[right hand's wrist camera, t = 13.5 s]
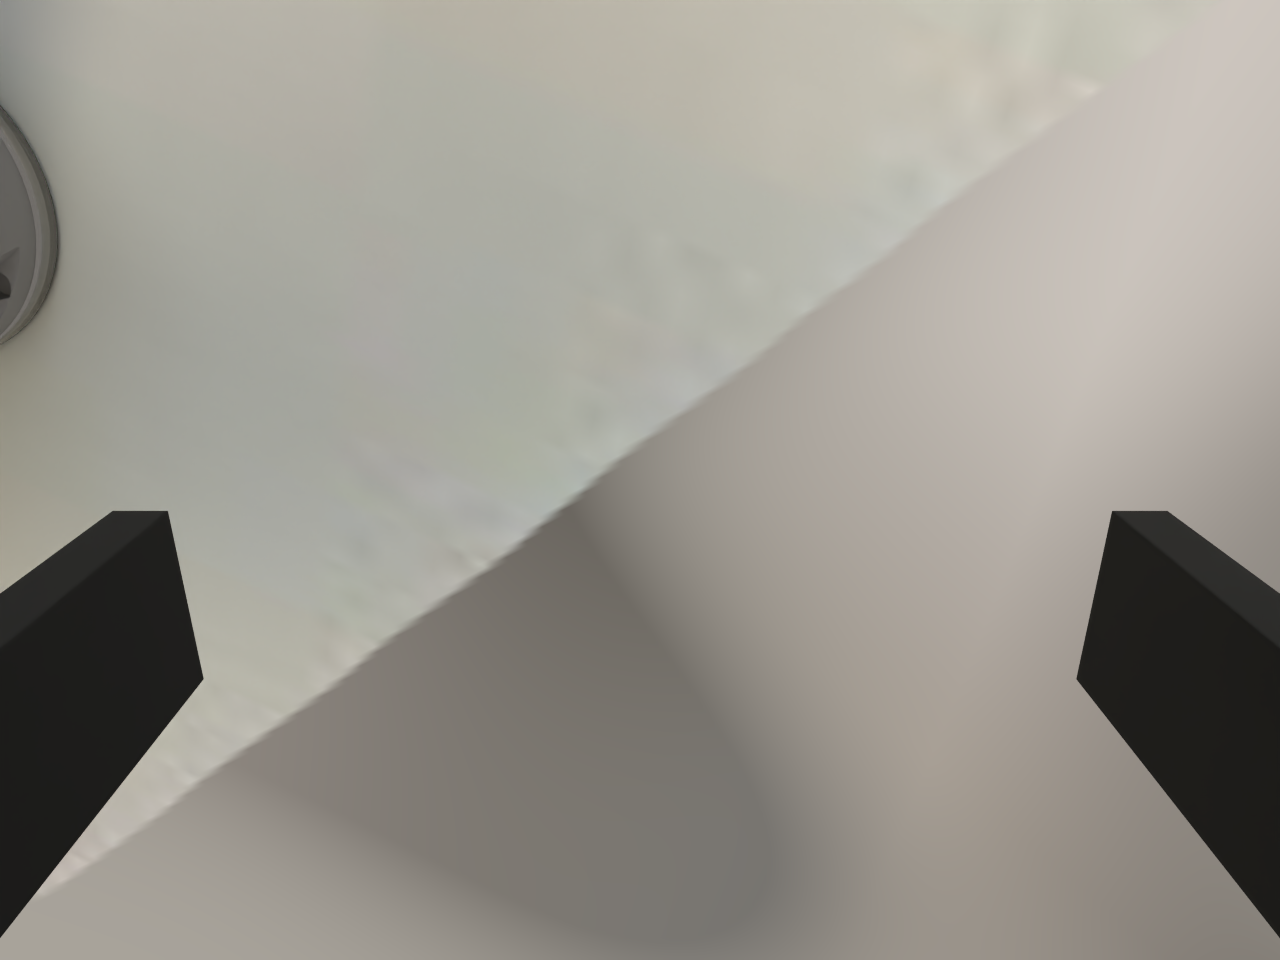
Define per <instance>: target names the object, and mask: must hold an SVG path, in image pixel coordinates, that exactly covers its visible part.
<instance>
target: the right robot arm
mask: <svg viewBox="0 0 1280 960" xmlns="http://www.w3.org/2000/svg"><path fill="white" fill-rule="evenodd" d="M56 256H57V227H56V219H55V212H54V208H53V203H52V199H51V195H50V192H49V189H48V186H47V183H46V180H45V178H44V175H43V173H42V170H41V168H40V165H39V163H38V161H37V159H36V157H35V155H34V154H33V152H32V150H31V148H30V146H29V145H28V143H27V141H26V140H25V138H24V136H23V135H22V133H21V132H20V130H19V129H18V128H17V126H16V125H15V123H14V122H13V121H12V119H11V118H10V117H9V116H8V114H7V113H6V112H5V111H4V110H3V108H2V107H1V106H0V345H1V344H2V343H4V342H6V341H7V340H9V339H10V338H12V337H13V336H14V335H16V334H17V333H18V332H19V331H21V330H22V329H23V328H24V327H25V326H26V325H27V324H28V323H29V322H30V320H31V319H32V318H33V316H34V315H35V314H36V313H37V311H38V310H39V308H40V306H41V304H42V303H43V301H44V299H45V297H46V295H47V292H48V290H49V288H50V284H51V281H52V278H53V275H54V269H55V264H56ZM202 680H203V674H202V669H201V665H200V660H199V655H198V651H197V646H196V641H195V637H194V632H193V627H192V622H191V618H190V613H189V608H188V604H187V599H186V594H185V590H184V585H183V580H182V575H181V571H180V566H179V561H178V557H177V552H176V547H175V543H174V538H173V533H172V528H171V524H170V519H169V514H168V511H112V512H111V513H109V514H108V515H107V516H105V517H104V518H103V519H101V520H100V521H98V522H97V523H96V524H94V525H93V526H92V527H90V528H89V529H88V530H86V531H85V532H83V533H82V534H81V535H79V536H78V537H77V538H75V539H74V540H73V541H71V542H70V543H69V544H67V545H66V546H64V547H63V548H62V549H60V550H59V551H58V552H56V553H55V554H54V555H52V556H51V557H49V558H48V559H47V560H45V561H44V562H43V563H41V564H40V565H39V566H37V567H36V568H35V569H33V570H32V571H30V572H29V573H28V574H26V575H25V576H24V577H22V578H21V579H20V580H18V581H17V582H15V583H14V584H13V585H11V586H10V587H9V588H7V589H6V590H5V591H3V592H2V593H0V937H1V936H2V935H3V934H4V932H5V931H6V930H7V929H8V927H9V926H10V925H11V924H12V922H13V921H14V920H15V918H16V917H17V916H18V914H19V913H20V912H21V911H22V909H23V908H24V907H25V906H26V904H27V903H28V902H29V901H30V899H31V898H32V897H33V896H34V894H35V893H36V892H37V890H38V889H39V888H40V887H41V885H42V884H43V883H44V882H45V880H46V879H47V878H48V876H49V875H50V874H51V873H52V871H53V870H54V869H55V868H56V866H57V865H58V864H59V862H60V861H61V860H62V859H63V857H64V856H65V855H66V854H67V852H68V851H69V850H70V848H71V847H72V846H73V845H74V843H75V842H76V841H77V840H78V838H79V837H80V836H81V834H82V833H83V832H84V831H85V829H86V828H87V827H88V826H89V824H90V823H91V822H92V820H93V819H94V818H95V817H96V815H97V814H98V813H99V811H100V810H101V809H102V808H103V806H104V805H105V804H106V803H107V801H108V800H109V799H110V797H111V796H112V795H113V794H114V792H115V791H116V790H117V789H118V787H119V786H120V785H121V783H122V782H123V781H124V780H125V778H126V777H127V776H128V775H129V773H130V772H131V771H132V769H133V768H134V767H135V766H136V764H137V763H138V762H139V761H140V759H141V758H142V757H143V755H144V754H145V753H146V752H147V750H148V749H149V748H150V747H151V745H152V744H153V743H154V741H155V740H156V739H157V738H158V736H159V735H160V734H161V733H162V731H163V730H164V729H165V727H166V726H167V725H168V724H169V722H170V721H171V720H172V719H173V717H174V716H175V715H176V713H177V712H178V711H179V710H180V708H181V707H182V706H183V705H184V703H185V702H186V701H187V699H188V698H189V697H190V696H191V694H192V693H193V692H194V691H195V689H196V688H197V687H198V685H199V684H200V683H201V682H202ZM1077 680H1078V682H1079V683H1080V684H1081V685H1082V687H1083V688H1084V689H1085V691H1086V692H1087V693H1088V694H1089V696H1090V697H1091V698H1092V699H1093V701H1094V702H1095V703H1096V704H1097V706H1098V707H1099V708H1100V710H1101V711H1102V712H1103V713H1104V715H1105V716H1106V717H1107V719H1108V720H1109V721H1110V722H1111V724H1112V725H1113V726H1114V727H1115V729H1116V730H1117V731H1118V733H1119V734H1120V735H1121V736H1122V738H1123V739H1124V740H1125V741H1126V743H1127V744H1128V745H1129V747H1130V748H1131V749H1132V750H1133V752H1134V753H1135V754H1136V755H1137V757H1138V758H1139V759H1140V761H1141V762H1142V763H1143V764H1144V766H1145V767H1146V768H1147V769H1148V771H1149V772H1150V773H1151V775H1152V776H1153V777H1154V778H1155V780H1156V781H1157V782H1158V783H1159V785H1160V786H1161V787H1162V788H1163V790H1164V791H1165V792H1166V794H1167V795H1168V796H1169V797H1170V799H1171V800H1172V801H1173V803H1174V804H1175V805H1176V806H1177V808H1178V809H1179V810H1180V812H1181V813H1182V814H1183V815H1184V817H1185V818H1186V819H1187V820H1188V822H1189V823H1190V824H1191V826H1192V827H1193V828H1194V829H1195V831H1196V832H1197V833H1198V834H1199V836H1200V837H1201V838H1202V839H1203V841H1204V842H1205V843H1206V845H1207V846H1208V847H1209V848H1210V850H1211V851H1212V852H1213V854H1214V855H1215V856H1216V857H1217V859H1218V860H1219V861H1220V862H1221V864H1222V865H1223V866H1224V867H1225V869H1226V870H1227V871H1228V872H1229V874H1230V875H1231V876H1232V878H1233V879H1234V880H1235V882H1236V883H1237V884H1238V885H1239V887H1240V888H1241V889H1242V890H1243V892H1244V893H1245V894H1246V895H1247V897H1248V898H1249V899H1250V901H1251V902H1252V903H1253V904H1254V906H1255V907H1256V908H1257V910H1258V911H1259V912H1260V913H1261V915H1262V916H1263V917H1264V918H1265V920H1266V921H1267V922H1268V924H1269V925H1270V926H1271V927H1272V929H1273V930H1274V931H1275V932H1276V934H1277V935H1278V936H1279V938H1280V593H1278V592H1277V591H1275V590H1274V589H1273V588H1271V587H1270V586H1269V585H1267V584H1266V583H1264V582H1263V581H1262V580H1260V579H1259V578H1258V577H1256V576H1255V575H1254V574H1252V573H1251V572H1250V571H1248V570H1247V569H1245V568H1244V567H1243V566H1241V565H1240V564H1239V563H1237V562H1236V561H1235V560H1233V559H1232V558H1230V557H1229V556H1228V555H1226V554H1225V553H1224V552H1222V551H1221V550H1220V549H1218V548H1217V547H1216V546H1214V545H1213V544H1211V543H1210V542H1209V541H1207V540H1206V539H1205V538H1203V537H1202V536H1201V535H1199V534H1198V533H1197V532H1195V531H1194V530H1192V529H1191V528H1190V527H1188V526H1187V525H1186V524H1184V523H1183V522H1182V521H1180V520H1179V519H1177V518H1176V517H1175V516H1173V515H1172V514H1171V513H1169V512H1168V511H1112V514H1111V519H1110V524H1109V528H1108V533H1107V538H1106V543H1105V547H1104V552H1103V557H1102V561H1101V566H1100V571H1099V575H1098V580H1097V585H1096V590H1095V594H1094V599H1093V604H1092V608H1091V613H1090V618H1089V623H1088V627H1087V632H1086V636H1085V641H1084V646H1083V651H1082V655H1081V660H1080V665H1079V669H1078V674H1077Z"/></svg>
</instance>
